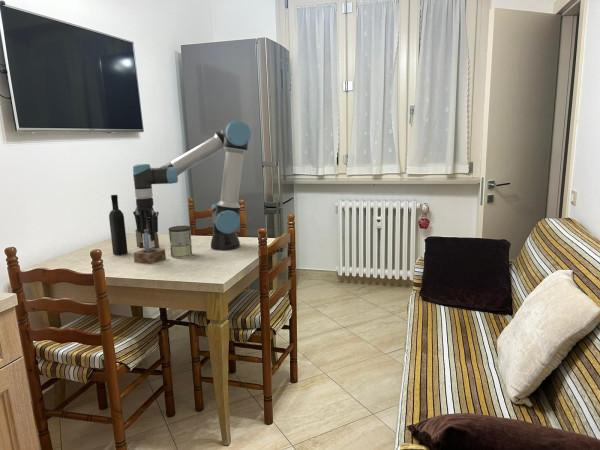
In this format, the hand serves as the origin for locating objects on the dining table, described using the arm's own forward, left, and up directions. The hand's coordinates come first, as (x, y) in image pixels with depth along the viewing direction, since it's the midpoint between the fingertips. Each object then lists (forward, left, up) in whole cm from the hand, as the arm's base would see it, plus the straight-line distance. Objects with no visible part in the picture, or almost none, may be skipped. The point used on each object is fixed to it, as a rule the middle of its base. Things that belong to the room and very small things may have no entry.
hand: (149, 246), depth 204 cm
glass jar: (-9, -12, -7) cm, 16 cm away
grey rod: (0, 0, -6) cm, 6 cm away
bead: (0, 0, -7) cm, 7 cm away
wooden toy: (+21, -21, -7) cm, 30 cm away
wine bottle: (+24, -5, -7) cm, 25 cm away
